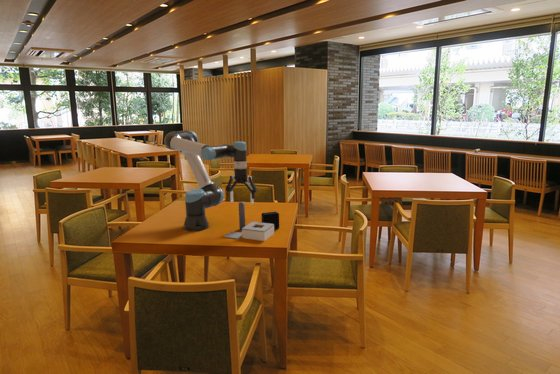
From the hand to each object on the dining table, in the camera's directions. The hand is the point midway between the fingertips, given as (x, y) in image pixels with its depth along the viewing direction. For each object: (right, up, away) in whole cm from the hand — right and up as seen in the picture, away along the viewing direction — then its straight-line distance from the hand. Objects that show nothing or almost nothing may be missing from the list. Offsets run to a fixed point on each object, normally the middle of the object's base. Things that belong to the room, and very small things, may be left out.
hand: (241, 202), depth 231 cm
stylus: (0, -16, +4) cm, 17 cm away
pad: (-4, -19, -8) cm, 21 cm away
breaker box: (+10, -19, -8) cm, 23 cm away
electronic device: (+17, -16, +5) cm, 24 cm away
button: (+10, -16, -8) cm, 21 cm away
